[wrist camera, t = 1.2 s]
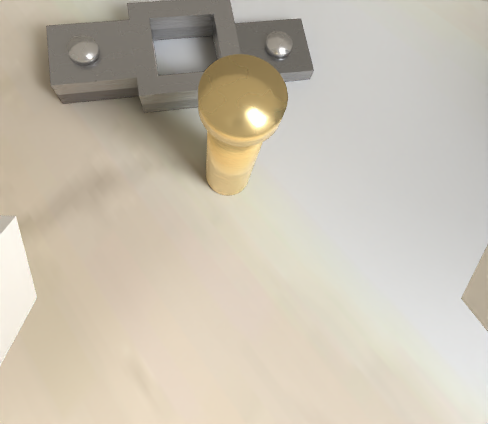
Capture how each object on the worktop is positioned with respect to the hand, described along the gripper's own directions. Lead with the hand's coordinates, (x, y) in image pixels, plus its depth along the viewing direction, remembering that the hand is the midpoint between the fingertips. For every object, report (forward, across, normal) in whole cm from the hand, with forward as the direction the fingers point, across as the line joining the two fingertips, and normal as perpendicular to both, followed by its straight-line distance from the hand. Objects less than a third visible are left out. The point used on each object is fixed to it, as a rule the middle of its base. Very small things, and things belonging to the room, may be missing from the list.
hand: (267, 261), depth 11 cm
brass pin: (+24, 0, -8) cm, 25 cm away
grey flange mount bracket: (+32, -4, 0) cm, 32 cm away
